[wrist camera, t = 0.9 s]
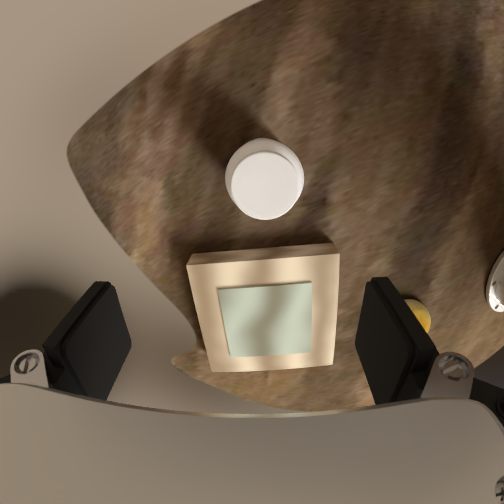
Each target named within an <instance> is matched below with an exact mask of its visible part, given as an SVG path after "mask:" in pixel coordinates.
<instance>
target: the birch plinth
mask: <svg viewBox="0 0 504 504" xmlns="http://www.w3.org/2000/svg"><path fill="white" fill-rule="evenodd" d="M339 256H340V254H339V252H338V250H337V248H336V246H335V245H334V243H323V244H310V245H298V246H285V247H272V248H259V249H247V250H234V251H221V252H209V253H196V254H192V255H191V257H190V259H189V261H188V263H187V265H186V267H187V271H188V276H189V281H190V285H191V290H192V294H193V298H194V303H195V307H196V311H197V315H198V319H199V324H200V328H201V332H202V336H203V339H204V343H205V347H206V351H207V355H208V359H209V362H210V366H211V370H212V372H238V371H263V370H279V369H292V368H304V367H314V366H323V365H332V364H333V355H334V345H335V333H336V320H337V304H338V285H339Z"/></svg>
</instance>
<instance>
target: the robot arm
mask: <svg viewBox="0 0 504 504" xmlns="http://www.w3.org/2000/svg"><path fill="white" fill-rule="evenodd" d="M486 300H487V303H488V305H489V306H490V307H491V308H492V309H493V310H494V311H497V312H503V311H504V251H503V252H502V253H501V255H500V256H499V257H498V259H497V260H496V262H495V264H494V266H493V268H492V270H491V273H490V275H489V278H488V282H487V287H486ZM42 346H43V348H44V350H45V352H44V354H42V353H41V352H40V351H37V350H28V351H25V352H22V353H21V354H19V355H18V356H17V357H16V358H15V359H14V360H13V362H12V364H11V374H10V375H8V376H5V377H3V378H0V504H504V389H502V388H499V387H496V386H494V385H491V384H489V383H486V382H484V381H481V380H479V379H476V378H474V368H473V365H472V363H471V362H470V361H469V360H468V359H467V358H466V357H465V356H463V355H461V354H459V353H455V352H445V353H441V354H439V352H438V351H437V349H436V346H435V345H434V343H433V342H432V340H431V339H430V337H429V335H428V334H427V332H426V331H425V329H424V328H423V326H422V325H421V323H420V322H419V320H418V319H417V318H416V316H415V315H414V313H413V312H412V310H411V309H410V307H409V306H408V305H407V303H406V302H405V300H404V299H403V297H402V296H401V295H400V293H399V292H398V291H397V289H396V288H395V286H394V285H393V284H392V282H391V281H390V280H389V278H388V277H373V278H372V279H371V281H370V282H367V283H366V287H365V293H364V298H363V304H362V309H361V314H360V319H359V324H358V329H357V334H356V339H355V346H356V350H357V353H358V355H359V358H360V361H361V364H362V366H363V369H364V372H365V375H366V378H367V381H368V384H369V386H370V389H371V392H372V395H373V398H374V401H375V404H376V405H372V406H364V407H357V408H348V409H339V410H329V411H318V412H305V413H286V414H220V413H219V414H218V413H200V412H186V411H175V410H167V409H158V408H150V407H142V406H135V405H129V404H123V403H117V402H112V401H106V400H107V397H108V395H109V393H110V391H111V389H112V387H113V384H114V382H115V380H116V378H117V376H118V374H119V372H120V370H121V367H122V365H123V363H124V361H125V359H126V357H127V355H128V353H129V351H130V349H131V338H130V335H129V332H128V329H127V326H126V323H125V320H124V317H123V314H122V310H121V307H120V303H119V300H118V296H117V293H116V289H115V287H114V286H113V285H111V283H110V282H102V281H99V282H97V281H96V282H94V283H93V284H92V286H91V287H90V288H89V289H88V290H87V291H86V292H85V294H84V295H83V296H82V297H81V298H80V299H79V301H78V302H77V303H76V304H75V305H74V306H73V307H72V309H71V310H70V311H69V312H68V313H67V315H66V316H65V317H64V318H63V319H62V321H61V322H60V323H59V324H58V326H57V327H56V328H55V329H54V331H53V332H52V333H51V334H50V336H49V337H48V338H47V339H46V341H45V342H44V343H43V345H42Z"/></svg>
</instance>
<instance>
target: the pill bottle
mask: <svg viewBox="0 0 504 504" xmlns="http://www.w3.org/2000/svg"><path fill="white" fill-rule="evenodd" d="M225 182H226V187H227V191H228V193H229V195H230V197H231V199H232V200H233V201H234V203H235V204H236V205H237V206H238V207H239V209H240V210H241V211H243V212H244V213H245V214H247V215H249V216H250V217H253V218H256V219H261V220H268V219H274V218H277V217H279V216H281V215H283V214H285V213H286V212H287V211H289V210H290V209H291V207H292V206H293V205H294V204H295V202H296V201H297V200H298V198H299V196H300V194H301V192H302V189H303V184H304V173H303V169H302V166H301V163H300V161H299V159H298V158H297V156H296V155H295V154H294V152H293V151H292V150H291V149H289V148H288V147H287V146H285V145H284V144H282V143H280V142H278V141H276V140H273V139H269V138H258V139H254V140H251V141H249V142H247V143H246V144H244V145H243V146H242V147H240V148H239V149H238V150H237V151H236V152H235V153H234V154H233V156H232V157H231V159H230V161H229V163H228V165H227V168H226V174H225Z"/></svg>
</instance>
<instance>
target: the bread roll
mask: <svg viewBox="0 0 504 504" xmlns="http://www.w3.org/2000/svg"><path fill="white" fill-rule="evenodd" d="M405 302H406V303H407V305H408V306H409V307H410V309H411V310H412V312H413V313H414V315H415V316H416V318H417V319H418V320H419V322H420V323H421V325H422V326H423V328H424V329H425V331H426V332H427V333H428V331H429V328H430V323H431V318H430V314H429V312H428V310H427V309H426V308H425V306H423V304H421V303H420V302H418V301H416V300H413V299H406V300H405Z"/></svg>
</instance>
